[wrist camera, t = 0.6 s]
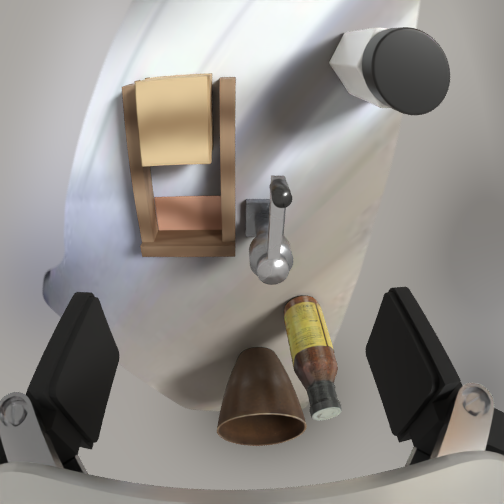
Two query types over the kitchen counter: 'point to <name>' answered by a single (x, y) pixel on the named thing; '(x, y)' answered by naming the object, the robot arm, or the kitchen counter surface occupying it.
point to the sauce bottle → (312, 355)
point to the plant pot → (260, 402)
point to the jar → (393, 68)
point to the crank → (275, 234)
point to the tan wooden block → (175, 119)
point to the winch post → (262, 232)
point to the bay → (185, 207)
